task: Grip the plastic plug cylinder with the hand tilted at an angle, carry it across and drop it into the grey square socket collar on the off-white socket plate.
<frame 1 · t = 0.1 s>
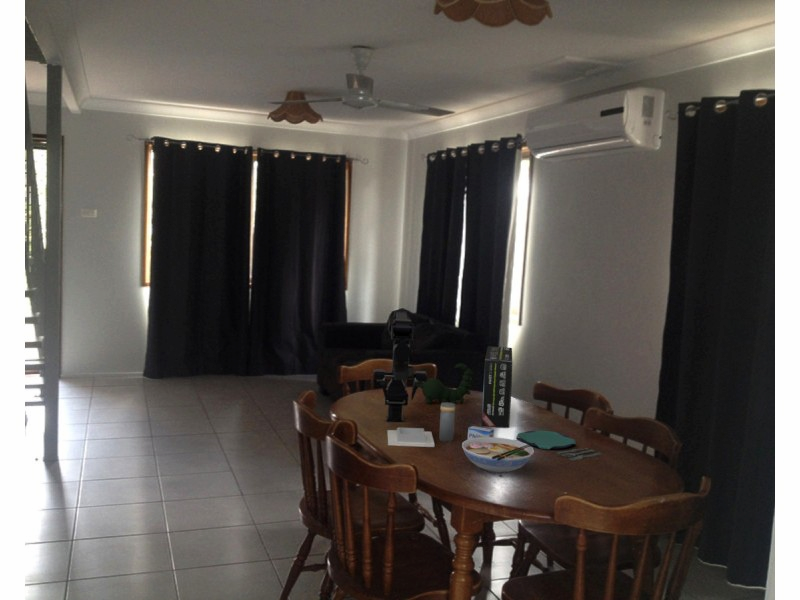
hand: (398, 399, 255), 15 cm above the table, tool pointing down, fingers open, 9 cm apart
socket plate: (410, 439, 257), on the table
medicine box: (479, 453, 245), on the table
router box: (495, 417, 297), on the table
toy figurine: (443, 403, 317), on the table
cutlery set: (555, 448, 258), on the table
plug: (446, 439, 260), on the table
ramen bowl: (496, 470, 228), on the table
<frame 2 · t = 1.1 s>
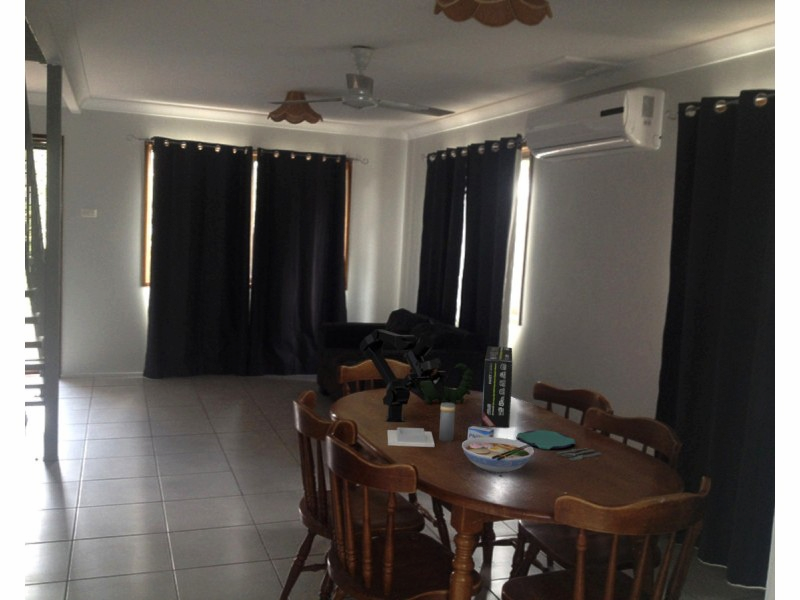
hand: (434, 398, 264), 13 cm above the table, tool tilted 45°, fingers open, 9 cm apart
nothing on the table moved.
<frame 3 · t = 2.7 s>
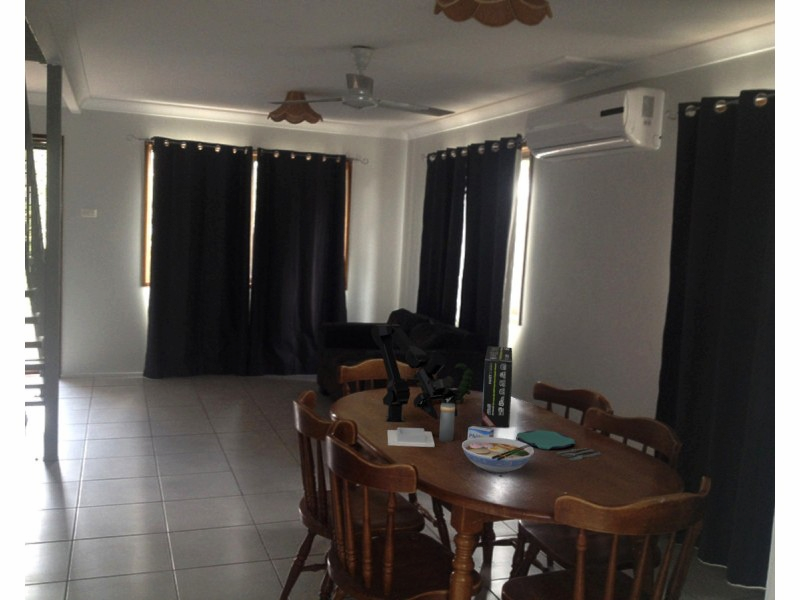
hand: (447, 417, 259), 8 cm above the table, tool tilted 45°, fingers open, 9 cm apart
nothing on the table moved.
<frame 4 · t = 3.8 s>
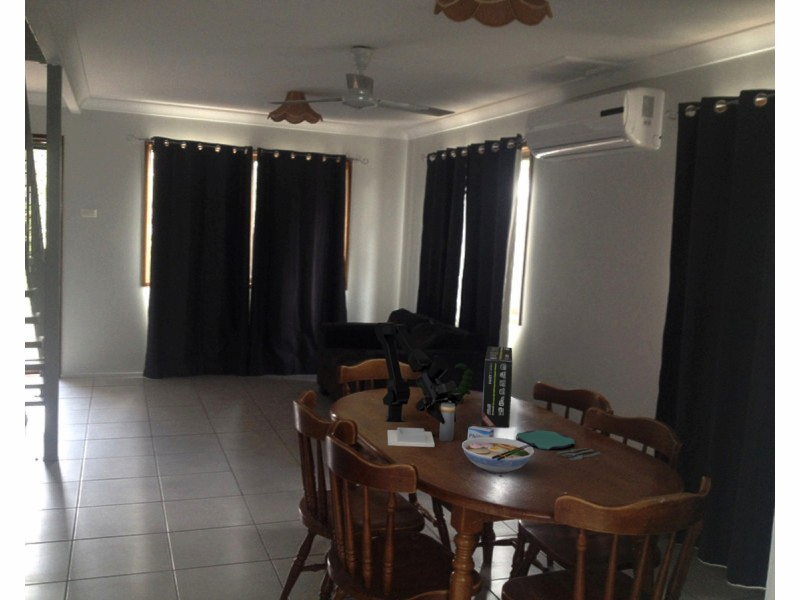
hand: (449, 422, 258), 7 cm above the table, tool tilted 45°, fingers closed on plug, 5 cm apart
plug: (446, 439, 260), on the table, touching gripper
everything else where it was.
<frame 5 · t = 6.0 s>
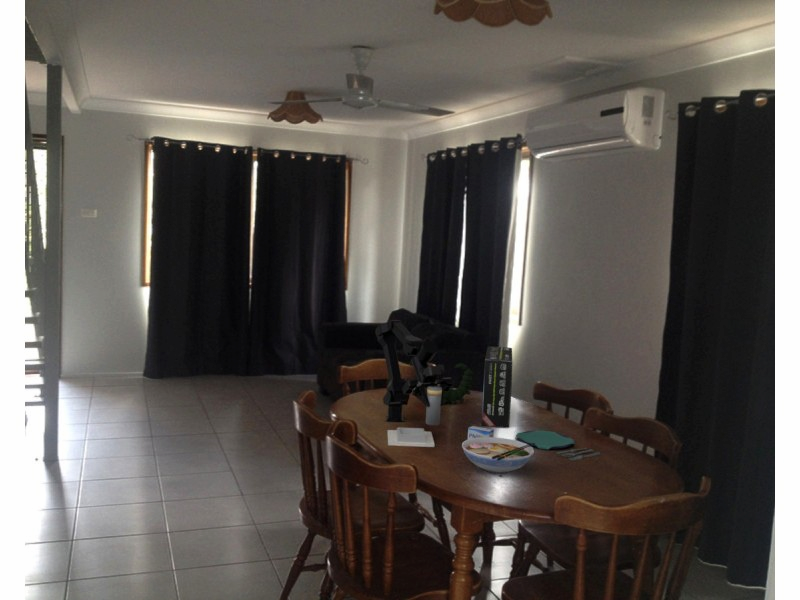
hand: (435, 406, 255), 13 cm above the table, tool tilted 45°, fingers closed on plug, 5 cm apart
plug: (432, 423, 257), point 6 cm above the table, touching gripper
everything else where it was.
when the fingers open (9 cm above the table, at t = 8.4 s): plug drops 1 cm, resting on socket plate.
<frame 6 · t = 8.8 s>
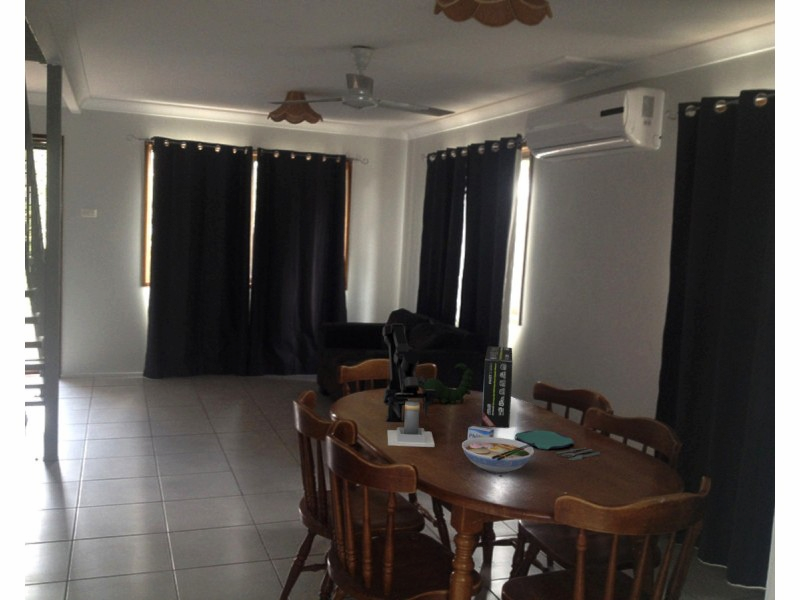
hand: (412, 417, 253), 9 cm above the table, tool tilted 45°, fingers open, 9 cm apart
plug: (410, 438, 255), point 1 cm above the table, touching socket plate
everything else where it was.
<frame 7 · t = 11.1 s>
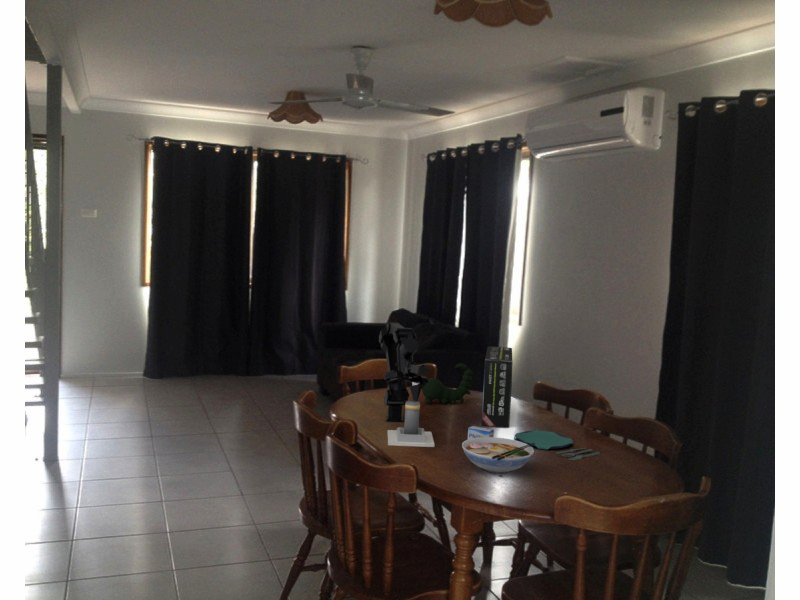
hand: (407, 401, 264), 12 cm above the table, tool tilted 25°, fingers open, 9 cm apart
nothing on the table moved.
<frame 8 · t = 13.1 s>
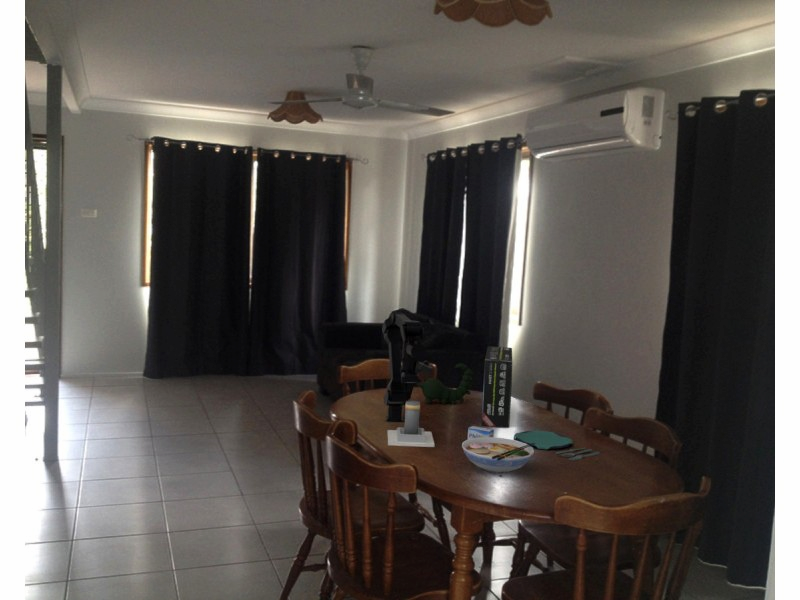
hand: (408, 396, 267), 13 cm above the table, tool pointing down, fingers open, 9 cm apart
nothing on the table moved.
at the end: plug 0.1 cm from the target spot on the socket plate, point 1.0 cm above the socket plate's base; plug tilted 1°; the gripper is holding nothing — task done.
